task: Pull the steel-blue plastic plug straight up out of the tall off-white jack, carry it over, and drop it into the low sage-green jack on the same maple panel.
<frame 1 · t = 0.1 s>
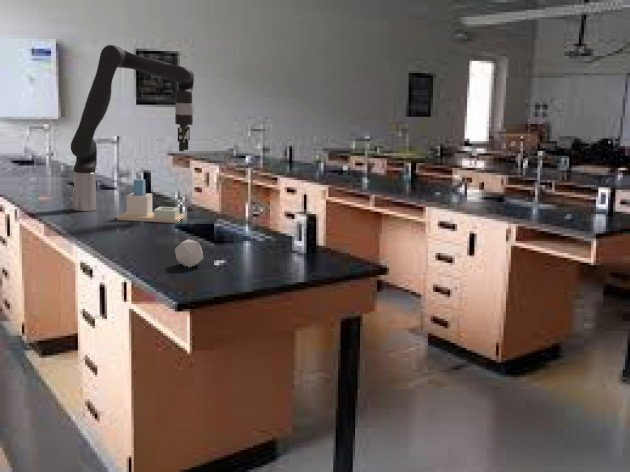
hand: (183, 150, 286), 29 cm above the worktop, fingers open, 8 cm apart
jack panel: (152, 218, 279), on the worktop
die: (189, 266, 204), on the worktop
plug: (139, 202, 280), point 6 cm above the worktop, touching jack panel
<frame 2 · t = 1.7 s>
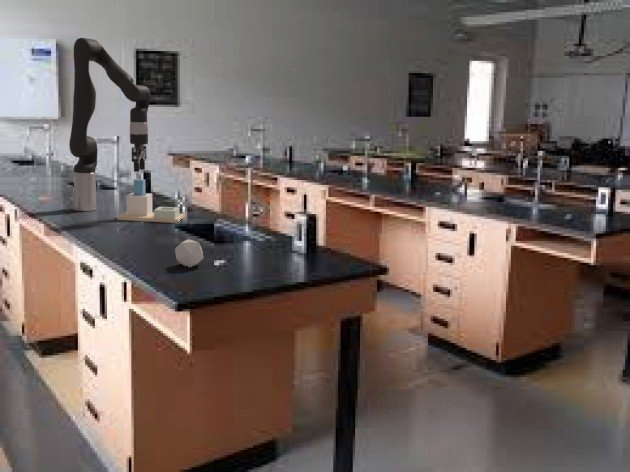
hand: (139, 170, 277), 20 cm above the worktop, fingers open, 8 cm apart
nothing on the worktop moved.
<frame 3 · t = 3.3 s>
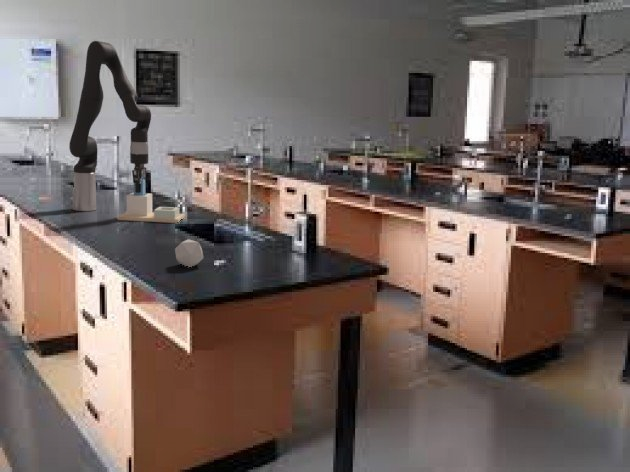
hand: (139, 191, 279), 11 cm above the worktop, fingers closed on plug, 4 cm apart
plug: (139, 202, 280), point 7 cm above the worktop, touching gripper, jack panel
everything else where it was.
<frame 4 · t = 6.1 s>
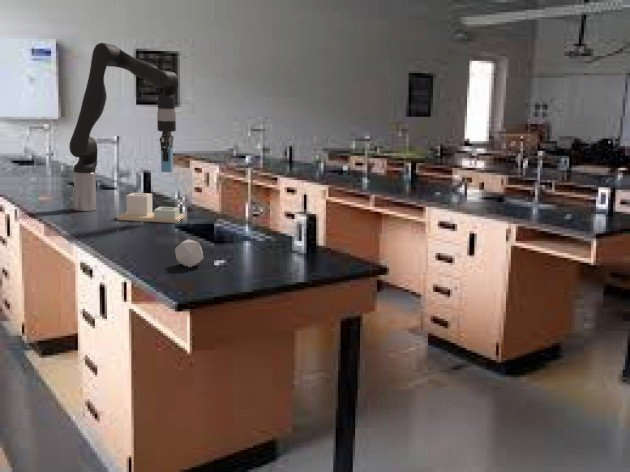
hand: (167, 160, 272), 26 cm above the worktop, fingers closed on plug, 4 cm apart
plug: (167, 171, 273), point 21 cm above the worktop, touching gripper
everything else where it was.
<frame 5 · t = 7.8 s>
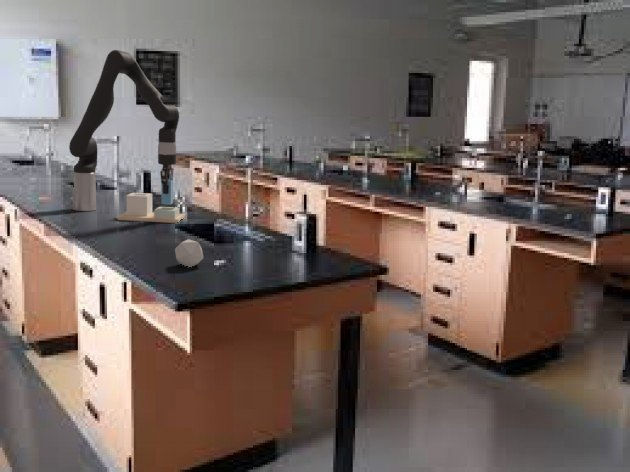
hand: (167, 192, 275), 12 cm above the worktop, fingers closed on plug, 4 cm apart
plug: (167, 203, 275), point 7 cm above the worktop, touching gripper
everything else where it was.
when the fingers open (7 cm above the worktop, at t = 9.1 s): plug stays where it is, resting on jack panel.
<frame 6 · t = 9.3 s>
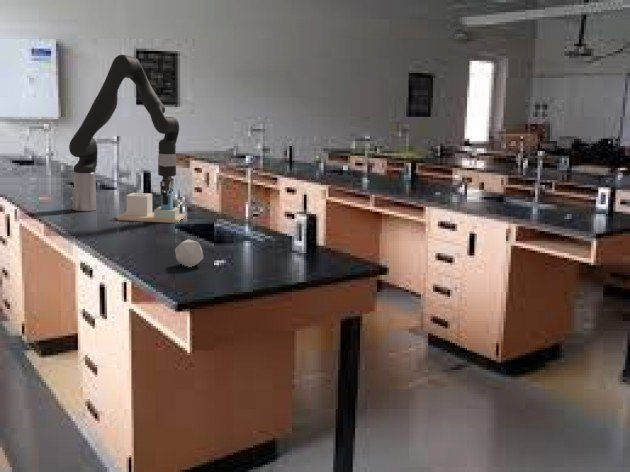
hand: (167, 203, 275), 7 cm above the worktop, fingers open, 5 cm apart
plug: (167, 216, 277), point 2 cm above the worktop, touching jack panel
everything else where it was.
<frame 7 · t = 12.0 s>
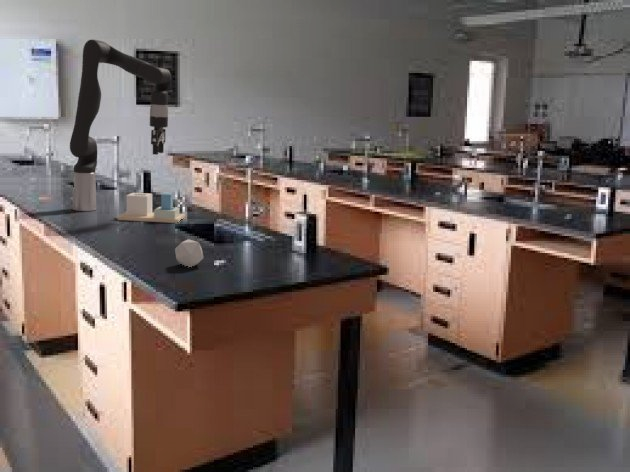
hand: (158, 153, 276), 28 cm above the worktop, fingers open, 8 cm apart
nothing on the worktop moved.
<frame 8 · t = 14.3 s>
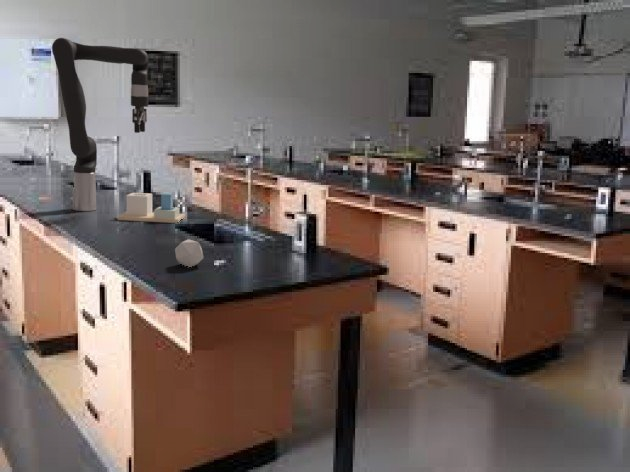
hand: (139, 132, 288), 36 cm above the worktop, fingers open, 8 cm apart
nothing on the worktop moved.
at the end: plug 0.1 cm from the target spot on the jack panel, point 1.5 cm above the jack panel's base; plug tilted 0°; the gripper is holding nothing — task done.
